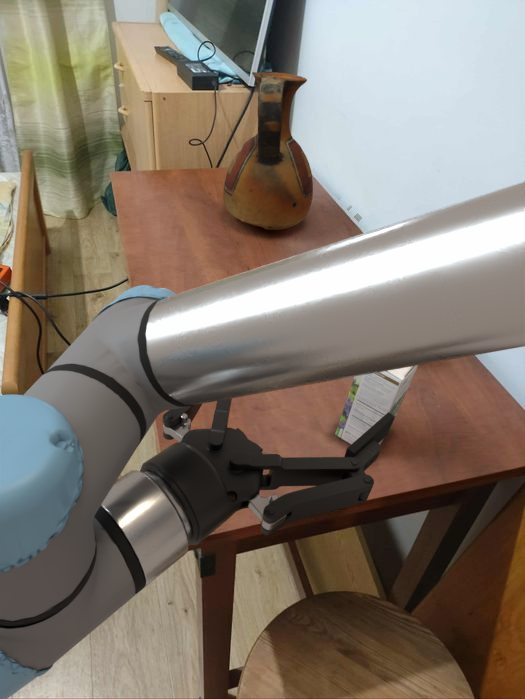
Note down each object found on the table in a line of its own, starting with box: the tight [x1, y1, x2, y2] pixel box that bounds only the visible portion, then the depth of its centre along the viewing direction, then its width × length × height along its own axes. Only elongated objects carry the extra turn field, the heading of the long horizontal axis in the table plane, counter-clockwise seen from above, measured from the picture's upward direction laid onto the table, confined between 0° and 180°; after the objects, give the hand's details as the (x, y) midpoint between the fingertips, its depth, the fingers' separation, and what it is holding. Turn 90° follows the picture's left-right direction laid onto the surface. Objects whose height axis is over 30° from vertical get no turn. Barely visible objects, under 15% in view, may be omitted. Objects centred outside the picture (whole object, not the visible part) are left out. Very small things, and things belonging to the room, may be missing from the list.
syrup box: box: [334, 365, 419, 445], centre depth 65 cm, size 6×6×14 cm
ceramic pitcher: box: [222, 71, 314, 231], centre depth 107 cm, size 20×20×30 cm
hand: (332, 384), depth 52 cm, fingers open, 13 cm apart
